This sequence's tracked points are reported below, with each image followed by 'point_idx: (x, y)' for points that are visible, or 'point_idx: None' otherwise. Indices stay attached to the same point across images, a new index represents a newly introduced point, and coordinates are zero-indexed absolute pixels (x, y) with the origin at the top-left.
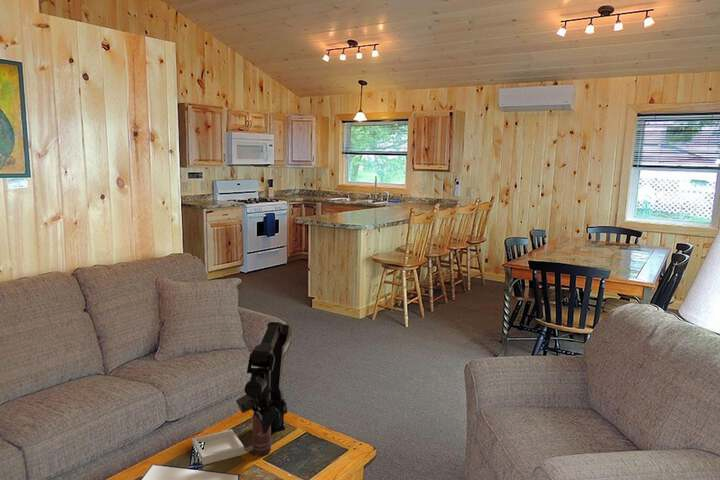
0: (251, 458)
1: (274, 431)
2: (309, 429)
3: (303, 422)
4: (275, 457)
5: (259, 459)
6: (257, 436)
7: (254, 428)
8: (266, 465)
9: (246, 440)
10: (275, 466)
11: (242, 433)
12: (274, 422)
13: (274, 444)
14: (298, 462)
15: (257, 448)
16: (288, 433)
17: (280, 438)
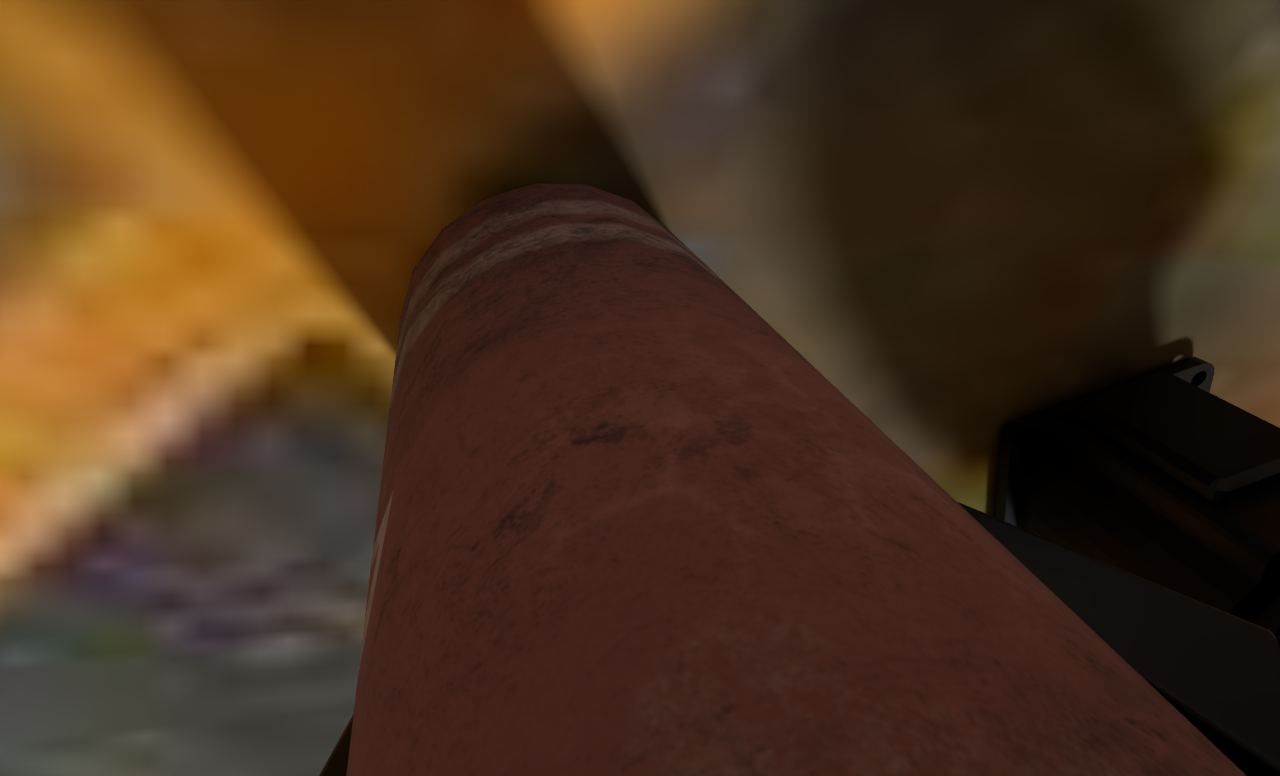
0: (344, 136)
1: (1000, 481)
2: None
3: None
4: (345, 505)
5: (296, 279)
6: (404, 447)
7: (513, 509)
8: (73, 388)
9: (976, 89)
10: (49, 515)
11: (1204, 37)
12: (1106, 554)
13: None
14: (189, 749)
15: (415, 301)
16: None
17: None
